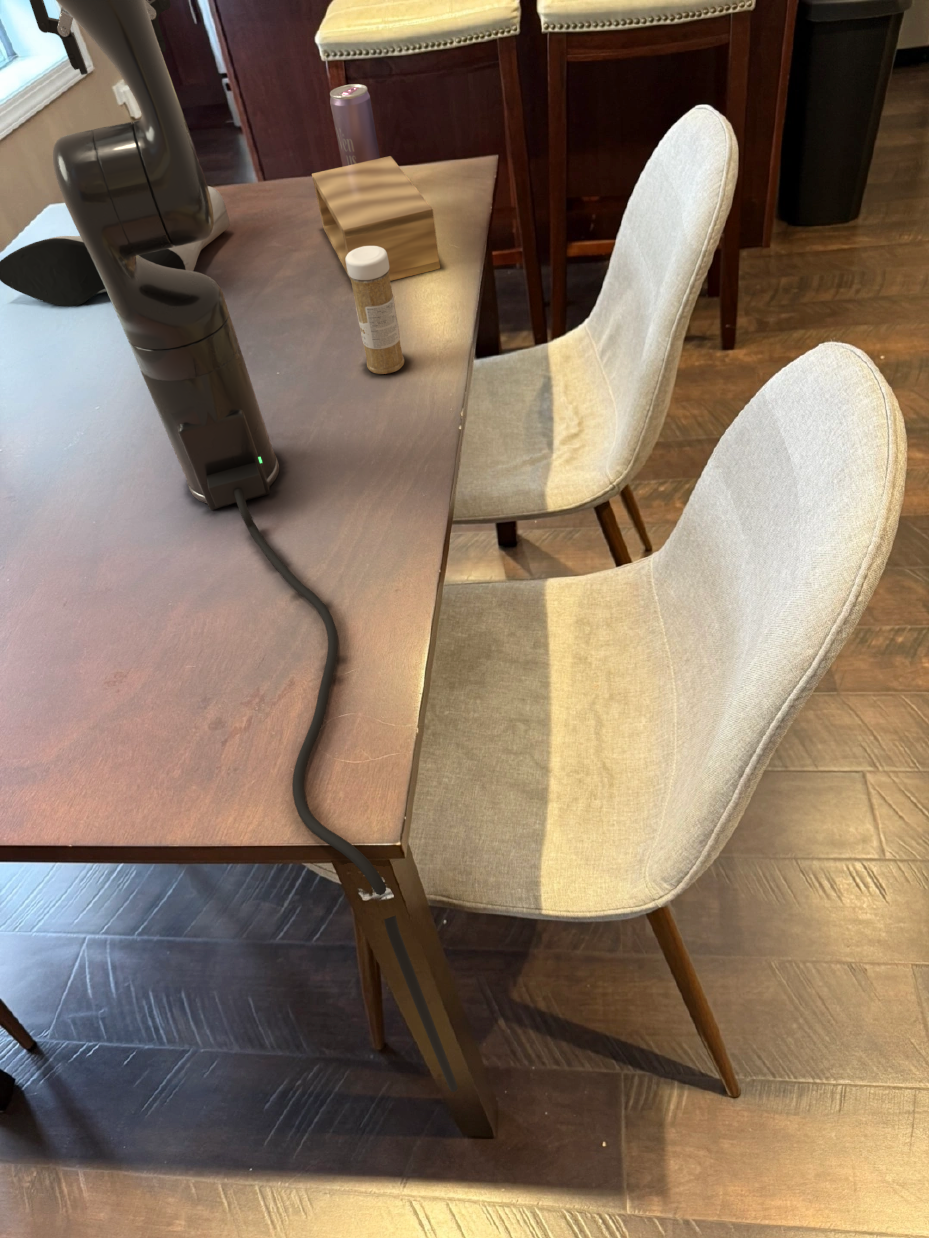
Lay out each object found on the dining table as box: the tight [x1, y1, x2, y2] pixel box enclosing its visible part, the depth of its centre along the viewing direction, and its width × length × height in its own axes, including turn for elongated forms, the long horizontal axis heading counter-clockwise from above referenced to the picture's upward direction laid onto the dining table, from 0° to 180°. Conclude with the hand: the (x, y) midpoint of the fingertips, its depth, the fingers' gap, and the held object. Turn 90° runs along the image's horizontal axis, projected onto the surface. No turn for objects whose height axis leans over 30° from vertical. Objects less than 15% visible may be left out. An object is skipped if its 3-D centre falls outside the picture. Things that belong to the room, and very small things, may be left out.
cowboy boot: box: [0, 185, 230, 307], centre depth 126 cm, size 10×28×25 cm
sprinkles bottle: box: [345, 246, 405, 375], centre depth 97 cm, size 5×5×14 cm
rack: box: [311, 155, 441, 282], centre depth 122 cm, size 22×12×8 cm, turn 18°
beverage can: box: [329, 83, 381, 167], centre depth 133 cm, size 6×6×15 cm
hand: (122, 65), depth 98 cm, fingers open, 8 cm apart
